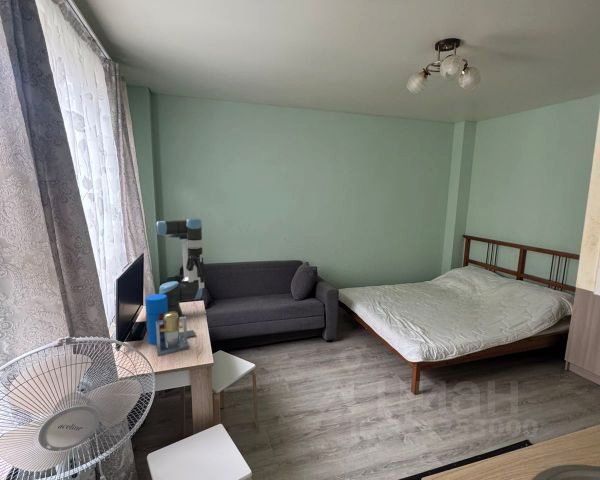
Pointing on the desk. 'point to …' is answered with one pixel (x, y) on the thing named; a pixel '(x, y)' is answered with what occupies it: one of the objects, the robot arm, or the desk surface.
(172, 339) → the grey metal stand
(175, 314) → the brass cap
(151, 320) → the thermos
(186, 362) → the desk surface
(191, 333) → the rubber mat
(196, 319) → the desk surface
